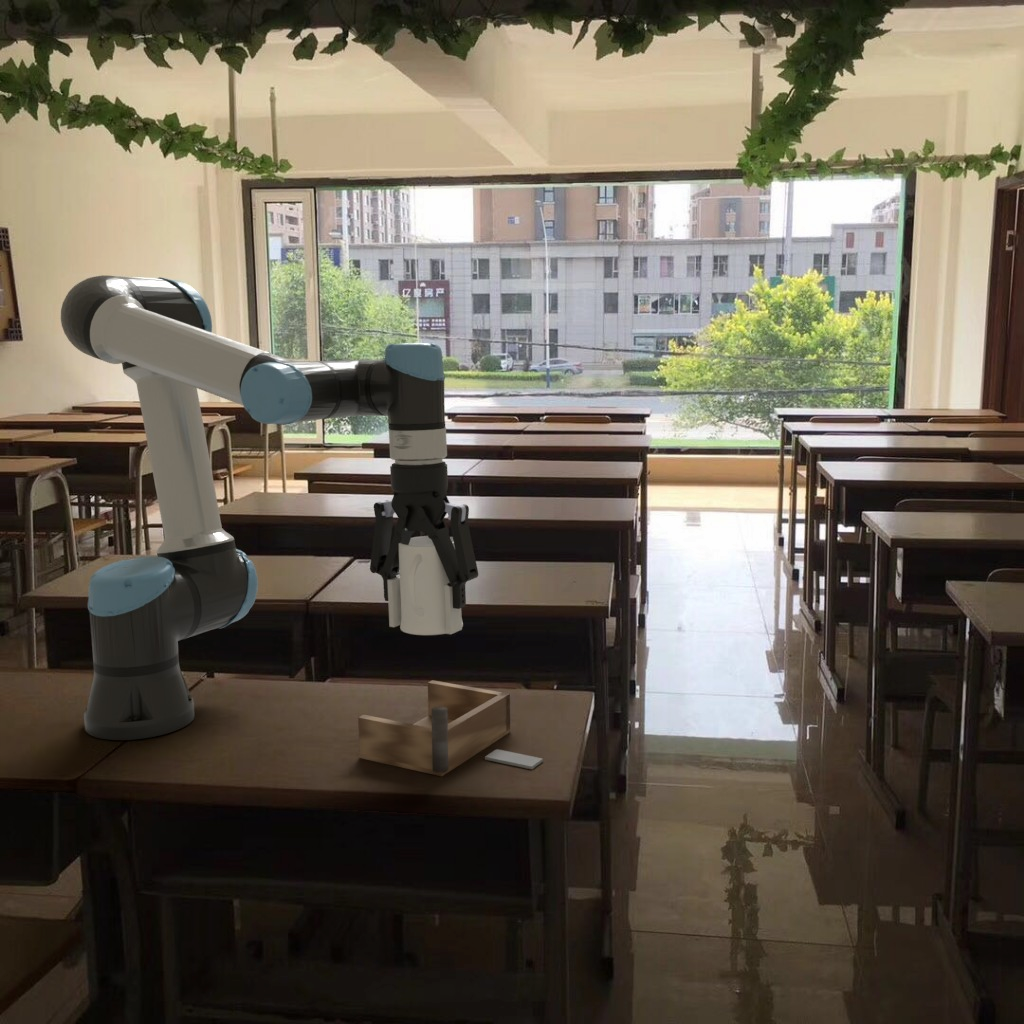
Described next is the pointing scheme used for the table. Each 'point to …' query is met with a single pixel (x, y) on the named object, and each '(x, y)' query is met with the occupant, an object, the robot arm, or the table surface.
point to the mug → (422, 588)
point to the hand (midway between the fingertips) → (425, 627)
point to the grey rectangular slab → (514, 759)
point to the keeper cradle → (438, 730)
